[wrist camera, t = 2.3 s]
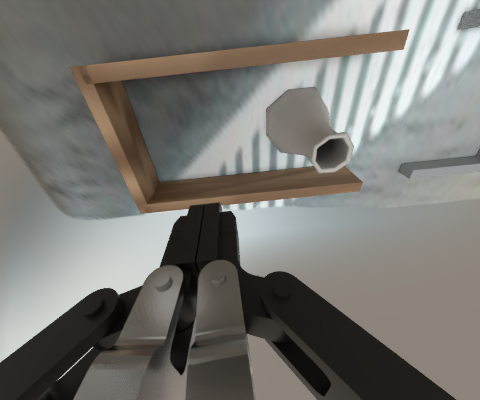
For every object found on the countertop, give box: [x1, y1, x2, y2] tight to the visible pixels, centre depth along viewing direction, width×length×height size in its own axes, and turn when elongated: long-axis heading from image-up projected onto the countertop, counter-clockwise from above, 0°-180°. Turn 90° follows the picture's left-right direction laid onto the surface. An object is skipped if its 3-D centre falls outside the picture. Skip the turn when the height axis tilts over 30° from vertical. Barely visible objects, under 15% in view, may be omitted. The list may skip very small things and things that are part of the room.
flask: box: [267, 87, 354, 174], centre depth 19 cm, size 7×7×10 cm
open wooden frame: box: [70, 30, 409, 214], centre depth 21 cm, size 14×26×5 cm, turn 95°
